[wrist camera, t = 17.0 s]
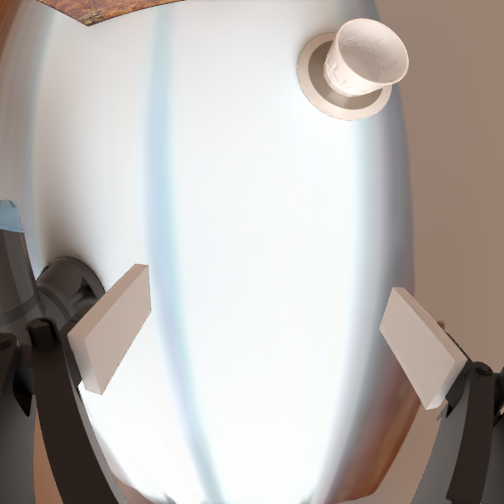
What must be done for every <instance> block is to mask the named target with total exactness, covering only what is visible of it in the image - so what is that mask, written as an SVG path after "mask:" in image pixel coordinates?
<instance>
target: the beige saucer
mask: <svg viewBox="0 0 504 504" xmlns="http://www.w3.org/2000/svg"><path fill="white" fill-rule="evenodd" d="M336 34H337V32H332V33H326V34H322V35H319V36H317V37H315V38H314V39H312V40H311V41H310V42H308V43H307V45H306V46H305V47H304V48H303V50H302V52H301V54H300V57H299V60H298V63H297V78H298V82H299V85H300V88H301V90H302V92H303V93H304V95H305V96H306V98H307V99H308V100H309V101H310V102H311V103H312V104H313V105H314V106H315V107H316V108H317V109H319V110H320V111H322V112H323V113H325V114H327V115H329V116H331V117H334V118H337V119H341V120H349V121H351V120H361V119H364V118H367V117H370V116H372V115H374V114H376V113H377V112H379V111H380V110H381V109H382V108H383V107H384V106H385V104H386V103H387V101H388V99H389V97H390V94H391V89H392V84H391V85H389V86H386V87H384V88H381V89H379V90H376V91H373V92H370V93H367V94H364V95H361V96H356V97H347V96H344V95H341V94H338V93H337V92H336V91H335V90H333V89H332V88H331V87H330V86H329V85H328V83H327V81H326V79H325V78H324V75H323V65H324V63H325V61H326V57H327V54H328V51H329V49H330V46H331V44H332V42H333V40H334V38H335V36H336Z"/></svg>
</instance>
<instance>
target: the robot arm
mask: <svg viewBox="0 0 504 504" xmlns="http://www.w3.org/2000/svg"><path fill="white" fill-rule="evenodd" d="M24 233H25V230H24V229H23V226H22V222H21V218H20V213H19V208H18V206H17V205H16V203H15V202H13V201H11V200H0V504H35V495H34V479H33V477H34V476H33V449H34V448H33V447H34V429H35V417H36V407H37V410H38V415H39V421H40V426H41V431H42V435H43V440H44V444H45V448H46V452H47V456H48V459H49V463H50V466H51V470H52V473H53V476H54V479H55V482H56V485H57V487H58V490H59V493H60V496H61V498H62V501H63V504H128V502H127V500H126V498H125V496H124V495H123V493H122V491H121V489H120V487H119V486H118V484H117V482H116V480H115V478H114V476H113V474H112V472H111V470H110V468H109V466H108V464H107V462H106V459H105V457H104V455H103V453H102V450H101V448H100V446H99V443H98V441H97V439H96V436H95V434H94V431H93V429H92V426H91V423H90V421H89V418H88V415H87V412H86V409H85V406H84V403H83V400H82V397H81V394H80V391H79V389H78V385H79V384H80V382H81V381H82V382H83V384H84V387H85V389H86V390H87V391H90V392H93V393H97V394H100V395H102V394H103V392H104V391H105V389H106V387H107V385H108V383H109V382H110V380H111V378H112V376H113V375H114V373H115V371H116V369H117V368H118V366H119V364H120V362H121V361H122V359H123V357H124V355H125V354H126V352H127V350H128V349H129V347H130V345H131V344H132V342H133V340H134V339H135V337H136V335H137V334H138V332H139V330H140V329H141V327H142V325H143V324H144V322H145V320H146V319H147V317H148V316H149V314H150V312H151V300H150V285H149V265H142V264H134V265H133V266H132V267H131V268H130V269H129V270H128V271H127V272H126V273H125V274H124V275H123V276H122V277H121V278H120V279H119V280H118V281H117V282H116V283H115V284H114V285H113V286H112V287H111V288H110V289H109V290H108V291H107V292H106V293H105V291H104V289H103V287H102V285H101V283H100V281H99V280H98V278H97V277H96V275H95V274H94V273H93V272H92V271H91V269H90V268H88V267H87V266H86V265H85V264H84V263H82V262H81V261H79V260H77V259H75V258H72V257H67V256H63V257H59V258H56V259H55V260H53V261H51V262H50V263H48V264H47V265H46V266H45V268H44V269H43V271H42V272H41V274H40V275H39V277H38V278H37V280H36V281H35V277H34V274H33V270H32V267H31V263H30V259H29V254H28V250H27V245H26V240H25V235H24ZM379 330H380V331H381V333H382V335H383V336H384V338H385V340H386V341H387V343H388V344H389V346H390V348H391V349H392V351H393V353H394V354H395V356H396V358H397V359H398V361H399V363H400V365H401V366H402V368H403V370H404V371H405V373H406V375H407V377H408V378H409V380H410V382H411V384H412V385H413V387H414V389H415V391H416V393H417V394H418V396H419V398H420V400H421V402H422V404H423V406H424V407H425V409H426V410H428V409H433V408H437V407H439V405H440V404H441V403H442V401H443V399H444V398H446V399H447V401H448V403H447V405H446V406H445V408H444V409H443V410H442V412H441V413H440V415H439V416H438V417H437V420H439V419H440V417H442V419H441V423H440V427H439V430H438V433H437V437H436V440H435V443H434V446H433V450H432V452H431V456H430V458H429V461H428V464H427V466H426V469H425V471H424V474H423V477H422V479H421V481H420V484H419V486H418V489H417V491H416V493H415V495H414V497H413V500H412V502H411V504H480V503H481V504H504V413H503V414H502V415H501V413H500V410H501V409H502V408H503V406H504V367H503V369H502V371H501V372H500V373H493V371H492V369H491V368H490V367H489V366H487V365H486V364H484V363H482V362H474V363H473V362H472V360H471V359H470V358H469V357H468V356H467V354H466V353H465V352H464V351H463V350H462V349H461V348H459V345H458V344H457V343H455V340H454V339H453V338H452V337H451V336H450V335H449V334H448V333H446V332H445V331H443V330H442V329H441V327H440V326H439V325H438V324H437V323H436V322H435V321H434V320H433V318H432V317H431V316H430V315H429V314H428V313H427V312H426V311H425V310H424V309H423V308H422V307H421V306H420V304H419V303H418V302H417V301H416V300H415V299H414V298H413V297H412V296H411V295H410V294H409V293H408V292H407V291H406V290H405V289H404V288H398V287H392V291H391V294H390V297H389V300H388V304H387V307H386V310H385V313H384V316H383V319H382V322H381V325H380V327H379Z"/></svg>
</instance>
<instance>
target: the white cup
mask: <svg viewBox="0 0 504 504" xmlns="http://www.w3.org/2000/svg"><path fill="white" fill-rule="evenodd" d="M408 63H409V62H408V54H407V51H406V48H405V46H404V44H403V42H402V41H401V39H400V38H399V37H398V36H397V34H396V33H394V32H393V31H392V30H391V29H390V28H389V27H387V26H386V25H384V24H382V23H380V22H378V21H375V20H372V19H367V18H356V19H352V20H349V21H347V22H345V23H344V24H343V25H342V26H341V27H340V28H339V30H338V32H337V34H336V36H335V38H334V40H333V42H332V44H331V46H330V49H329V51H328V54H327V57H326V61H325V63H324V65H323V75H324V78H325V79H326V81H327V83H328V85H329V86H330V87H331V88H332V89H333V90H335V91H336V92H337V93H338V94H341V95H344V96H347V97H356V96H361V95H364V94H367V93H370V92H373V91H376V90H379V89H381V88H384V87H386V86H389V85H391V84H394V83H396V82H398V81H400V80H401V79H402V78H403V77H404V75H405V74H406V72H407V69H408Z"/></svg>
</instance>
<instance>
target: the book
mask: <svg viewBox="0 0 504 504" xmlns="http://www.w3.org/2000/svg"><path fill="white" fill-rule="evenodd" d="M37 1H39V2H41V3H44V4H46V5H48V6H50V7H52V8H54V9H56V10H58V11H60V12H62V13H64V14H66V15H68V16H69V17H71V18H73V19H75V20H77V21H79V22H81V23H82V24H84V25H86V26H91V25H94V24H96V23H99V22H102V21H105V20H108V19H111V18H114V17H117V16H120V15H123V14H127V13H130V12H134V11H138V10H141V9H145V8H149V7H154V6H158V5H163V4H168V3H173V2H178V1H184V0H37Z"/></svg>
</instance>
